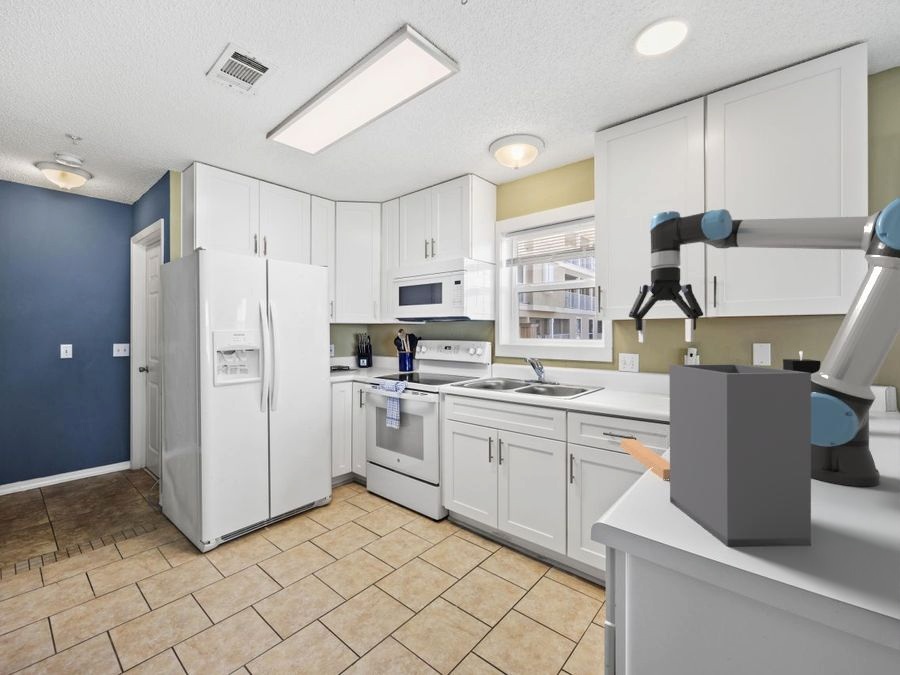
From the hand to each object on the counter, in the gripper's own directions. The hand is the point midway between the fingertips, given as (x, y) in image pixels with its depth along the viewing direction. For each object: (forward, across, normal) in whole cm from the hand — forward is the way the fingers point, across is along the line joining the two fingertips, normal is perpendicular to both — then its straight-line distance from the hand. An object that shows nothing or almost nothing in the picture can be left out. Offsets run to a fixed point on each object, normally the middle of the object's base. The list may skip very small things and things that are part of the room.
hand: (665, 342), depth 118 cm
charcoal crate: (+33, +9, +41) cm, 53 cm away
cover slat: (+33, +8, +6) cm, 35 cm away
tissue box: (+33, -62, -27) cm, 75 cm away
